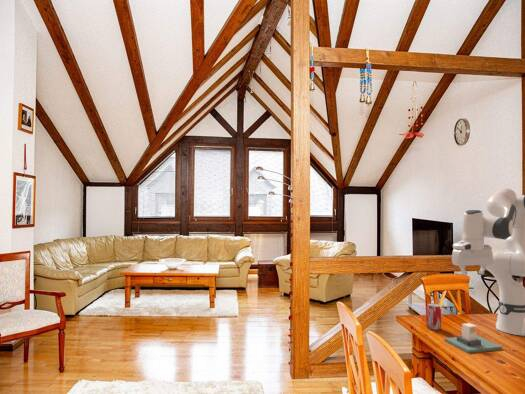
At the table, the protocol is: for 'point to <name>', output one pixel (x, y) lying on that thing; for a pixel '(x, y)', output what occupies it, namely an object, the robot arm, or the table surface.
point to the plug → (469, 332)
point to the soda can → (433, 316)
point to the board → (473, 344)
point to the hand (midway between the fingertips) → (472, 274)
